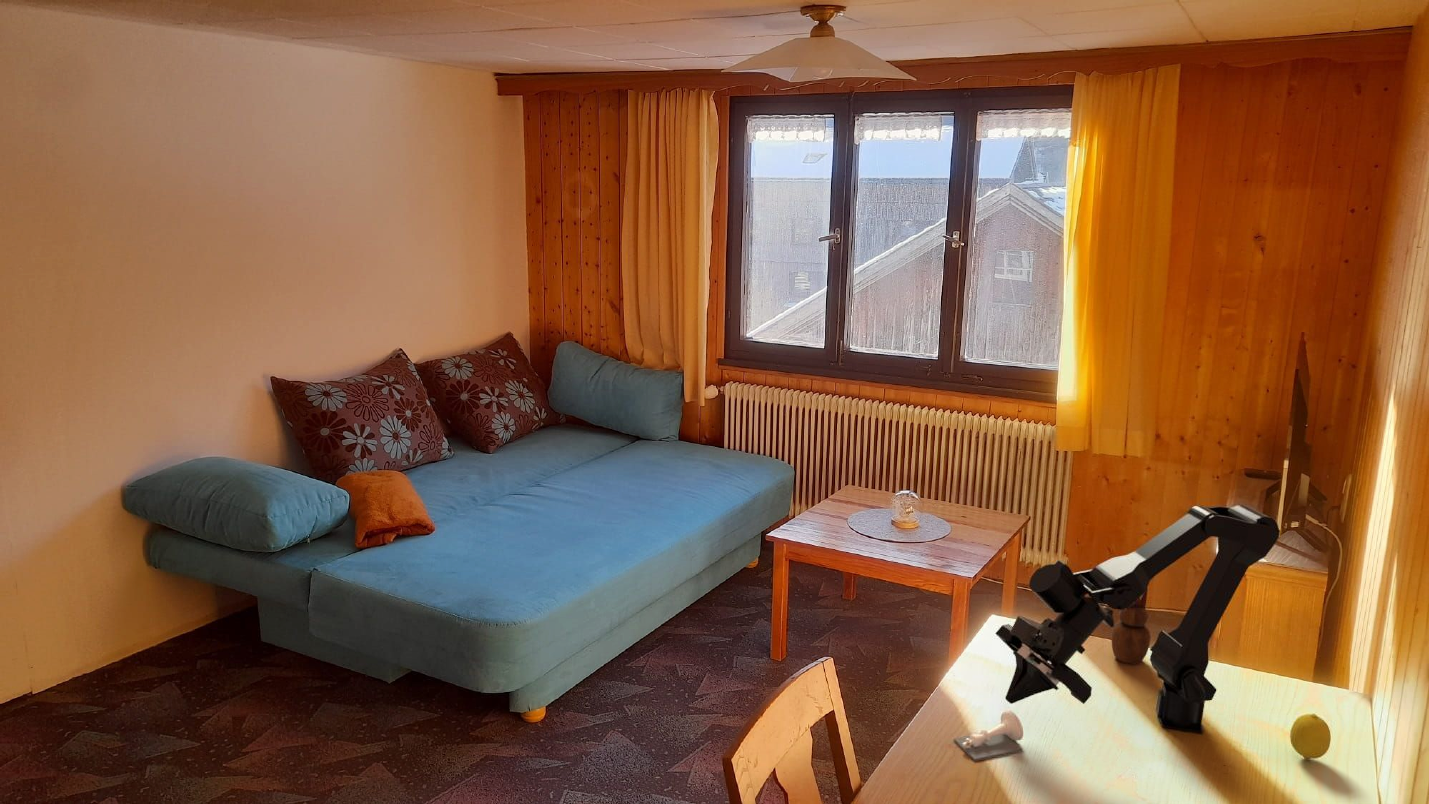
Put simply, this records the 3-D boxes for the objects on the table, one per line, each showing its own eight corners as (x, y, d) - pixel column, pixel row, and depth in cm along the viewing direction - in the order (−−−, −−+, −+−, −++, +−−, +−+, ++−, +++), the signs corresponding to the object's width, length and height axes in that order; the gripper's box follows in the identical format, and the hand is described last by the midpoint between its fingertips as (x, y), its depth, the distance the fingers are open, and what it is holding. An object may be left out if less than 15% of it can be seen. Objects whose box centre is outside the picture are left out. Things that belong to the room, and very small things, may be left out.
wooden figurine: (1145, 656, 195) (1155, 584, 192) (1147, 669, 190) (1157, 596, 186) (1108, 650, 197) (1117, 578, 194) (1109, 663, 192) (1118, 590, 189)
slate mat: (1000, 731, 168) (1000, 729, 168) (1022, 751, 163) (1022, 749, 163) (953, 740, 165) (953, 738, 165) (974, 761, 160) (974, 758, 160)
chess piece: (1024, 721, 163) (973, 742, 159) (1022, 746, 165) (972, 766, 161) (1004, 704, 167) (954, 723, 164) (1003, 728, 169) (953, 747, 165)
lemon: (1325, 773, 158) (1334, 727, 157) (1285, 761, 161) (1293, 717, 159) (1326, 756, 163) (1334, 711, 161) (1287, 745, 166) (1295, 701, 164)
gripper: (1009, 578, 170) (948, 648, 169) (1083, 626, 152) (1016, 704, 151) (1044, 615, 174) (985, 683, 173) (1120, 665, 157) (1054, 741, 156)
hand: (1008, 701), depth 163 cm, fingers closed
